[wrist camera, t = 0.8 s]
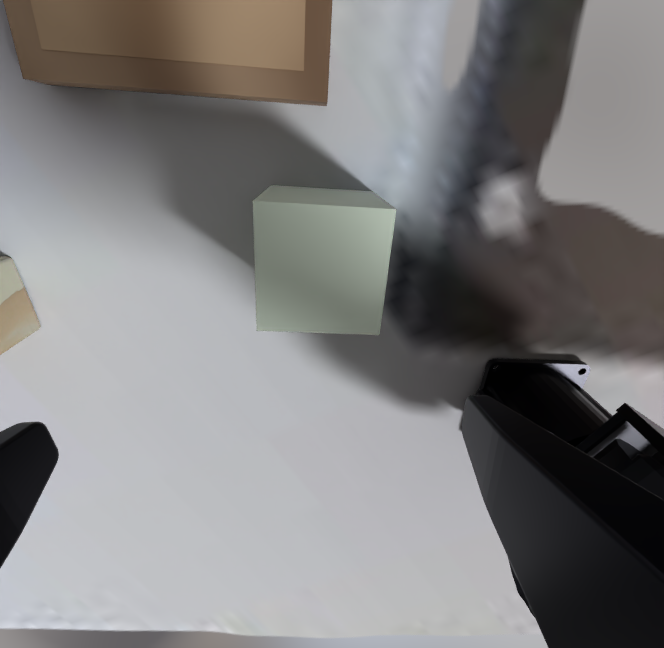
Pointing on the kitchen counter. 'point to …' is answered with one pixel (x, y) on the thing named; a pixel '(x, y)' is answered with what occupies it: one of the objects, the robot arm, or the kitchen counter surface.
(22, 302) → the box
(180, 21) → the plinth
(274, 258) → the block
